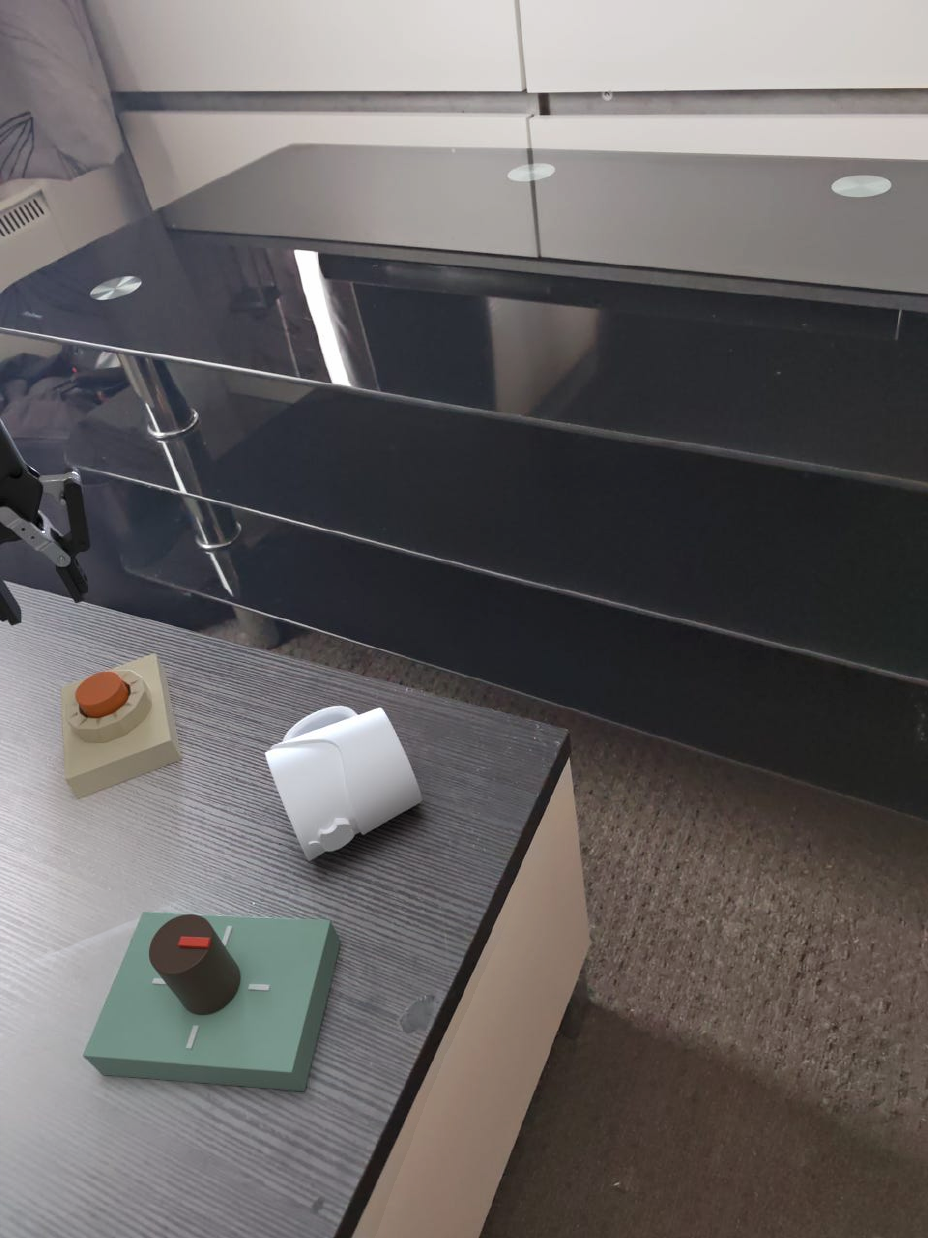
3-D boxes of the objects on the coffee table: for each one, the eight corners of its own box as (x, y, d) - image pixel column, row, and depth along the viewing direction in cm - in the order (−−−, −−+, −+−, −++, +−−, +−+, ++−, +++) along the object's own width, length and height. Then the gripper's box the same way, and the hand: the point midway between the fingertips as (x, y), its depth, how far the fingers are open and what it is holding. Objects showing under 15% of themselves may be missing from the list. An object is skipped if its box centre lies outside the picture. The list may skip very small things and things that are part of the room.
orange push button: (130, 708, 79) (122, 694, 78) (84, 725, 78) (75, 711, 77) (127, 678, 82) (119, 665, 81) (82, 694, 81) (73, 681, 80)
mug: (433, 829, 70) (413, 763, 64) (318, 883, 68) (288, 820, 63) (379, 727, 78) (358, 661, 73) (276, 772, 76) (246, 708, 71)
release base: (182, 760, 79) (162, 725, 76) (78, 799, 78) (54, 766, 75) (166, 672, 88) (148, 638, 85) (72, 706, 86) (51, 673, 83)
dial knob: (171, 1013, 59) (136, 970, 55) (193, 954, 62) (160, 909, 58) (229, 1017, 58) (197, 974, 54) (248, 957, 61) (219, 912, 57)
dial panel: (101, 1075, 60) (80, 1055, 58) (158, 932, 67) (141, 910, 65) (304, 1092, 57) (290, 1071, 55) (341, 941, 64) (330, 918, 62)
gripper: (38, 364, 65) (133, 552, 77) (-170, 427, 63) (-41, 611, 74) (40, 409, 60) (141, 603, 71) (-188, 479, 57) (-46, 669, 69)
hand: (48, 606), depth 73 cm, fingers open, 4 cm apart
